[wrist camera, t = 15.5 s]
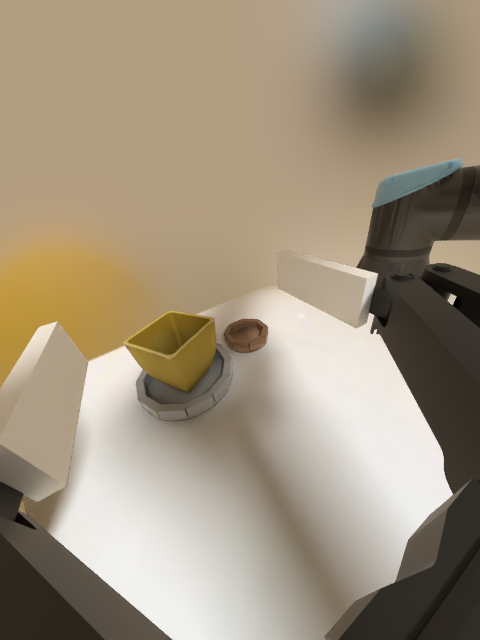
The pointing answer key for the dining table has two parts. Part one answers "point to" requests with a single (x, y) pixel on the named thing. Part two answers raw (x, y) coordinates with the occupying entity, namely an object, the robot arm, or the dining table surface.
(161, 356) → the flower pot
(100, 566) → the dining table surface
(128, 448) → the dining table surface
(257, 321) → the brown octagonal saucer
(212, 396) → the grey saucer
